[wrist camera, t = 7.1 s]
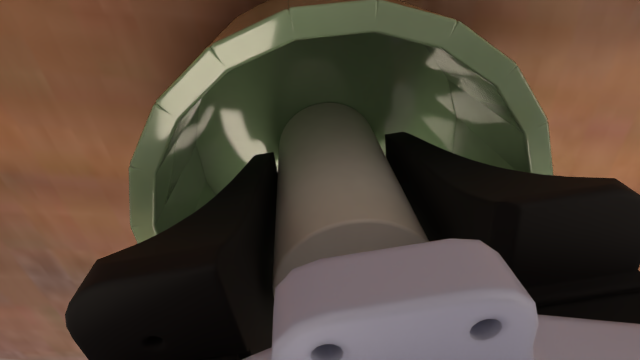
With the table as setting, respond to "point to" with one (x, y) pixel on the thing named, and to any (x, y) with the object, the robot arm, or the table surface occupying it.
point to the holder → (329, 97)
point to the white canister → (336, 191)
